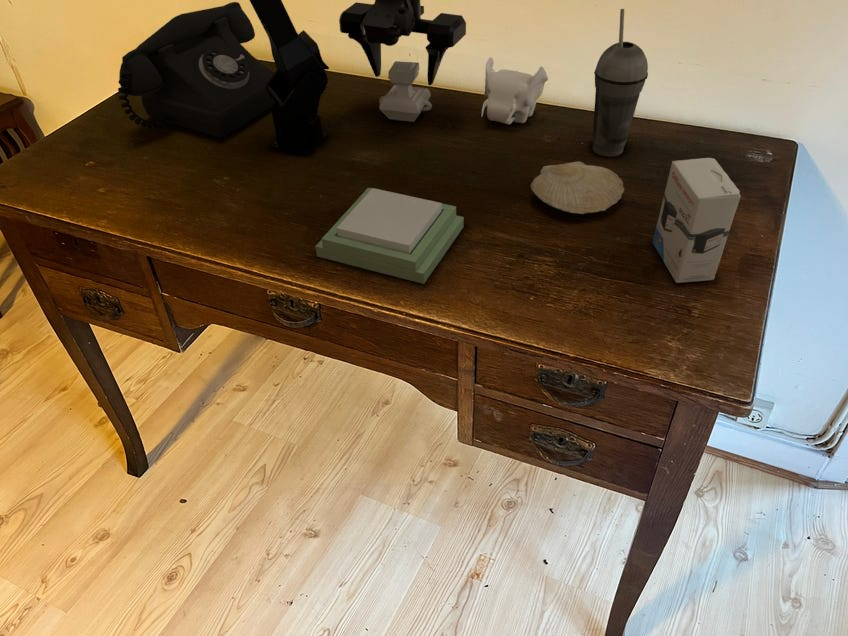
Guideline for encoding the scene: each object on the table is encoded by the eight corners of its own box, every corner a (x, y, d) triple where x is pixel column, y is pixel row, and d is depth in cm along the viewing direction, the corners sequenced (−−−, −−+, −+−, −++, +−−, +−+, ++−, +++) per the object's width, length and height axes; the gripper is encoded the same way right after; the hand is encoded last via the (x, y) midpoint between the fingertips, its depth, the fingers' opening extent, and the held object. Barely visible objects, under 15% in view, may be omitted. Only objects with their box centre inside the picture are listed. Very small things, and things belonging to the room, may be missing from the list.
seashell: (596, 233, 95) (599, 214, 93) (515, 206, 100) (517, 188, 98) (631, 192, 101) (635, 173, 99) (554, 169, 106) (556, 151, 104)
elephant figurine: (465, 128, 116) (466, 73, 110) (497, 98, 123) (500, 44, 117) (521, 141, 113) (525, 85, 106) (550, 109, 120) (556, 54, 114)
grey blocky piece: (437, 110, 121) (437, 59, 115) (426, 129, 117) (425, 77, 111) (386, 104, 124) (383, 54, 118) (373, 122, 119) (369, 71, 113)
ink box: (650, 242, 93) (670, 158, 84) (688, 239, 93) (712, 155, 85) (674, 284, 87) (698, 198, 78) (715, 281, 87) (743, 194, 79)
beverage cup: (633, 162, 107) (662, 20, 93) (582, 159, 108) (603, 18, 94) (632, 138, 112) (659, 0, 98) (583, 135, 113) (603, -2, 99)
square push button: (337, 238, 92) (336, 227, 91) (373, 197, 98) (372, 187, 97) (409, 255, 89) (409, 245, 88) (441, 213, 95) (441, 202, 94)
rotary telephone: (235, 69, 137) (218, -17, 126) (310, 87, 130) (298, -2, 119) (111, 140, 119) (79, 46, 108) (190, 165, 112) (164, 68, 101)
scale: (316, 256, 94) (313, 237, 92) (363, 204, 102) (361, 185, 100) (424, 284, 89) (423, 264, 87) (463, 227, 97) (464, 207, 95)
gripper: (315, -16, 103) (327, 92, 114) (437, -1, 97) (438, 111, 108) (352, -39, 110) (360, 64, 121) (468, -27, 104) (466, 81, 115)
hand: (403, 80), depth 116 cm, fingers open, 9 cm apart
